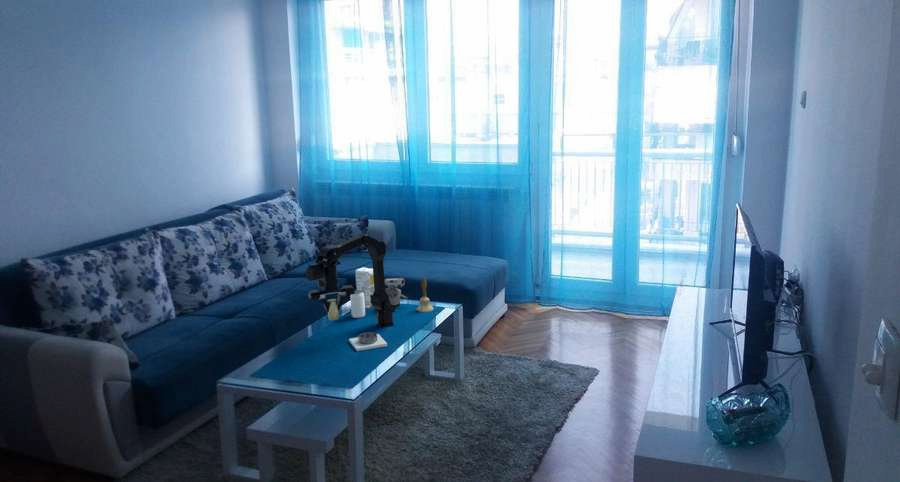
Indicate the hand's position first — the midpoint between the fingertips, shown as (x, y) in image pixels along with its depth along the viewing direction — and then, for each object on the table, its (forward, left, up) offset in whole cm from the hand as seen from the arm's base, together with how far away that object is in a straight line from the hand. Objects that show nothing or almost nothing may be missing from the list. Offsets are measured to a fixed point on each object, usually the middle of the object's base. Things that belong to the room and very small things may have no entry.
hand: (333, 311), depth 295 cm
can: (-18, -28, -13) cm, 36 cm away
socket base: (-12, +11, -13) cm, 20 cm away
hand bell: (-50, -23, -13) cm, 56 cm away
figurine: (-38, -32, -13) cm, 51 cm away
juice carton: (-26, -42, -13) cm, 51 cm away
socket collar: (-12, +11, -12) cm, 20 cm away
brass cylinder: (0, 0, -3) cm, 3 cm away
